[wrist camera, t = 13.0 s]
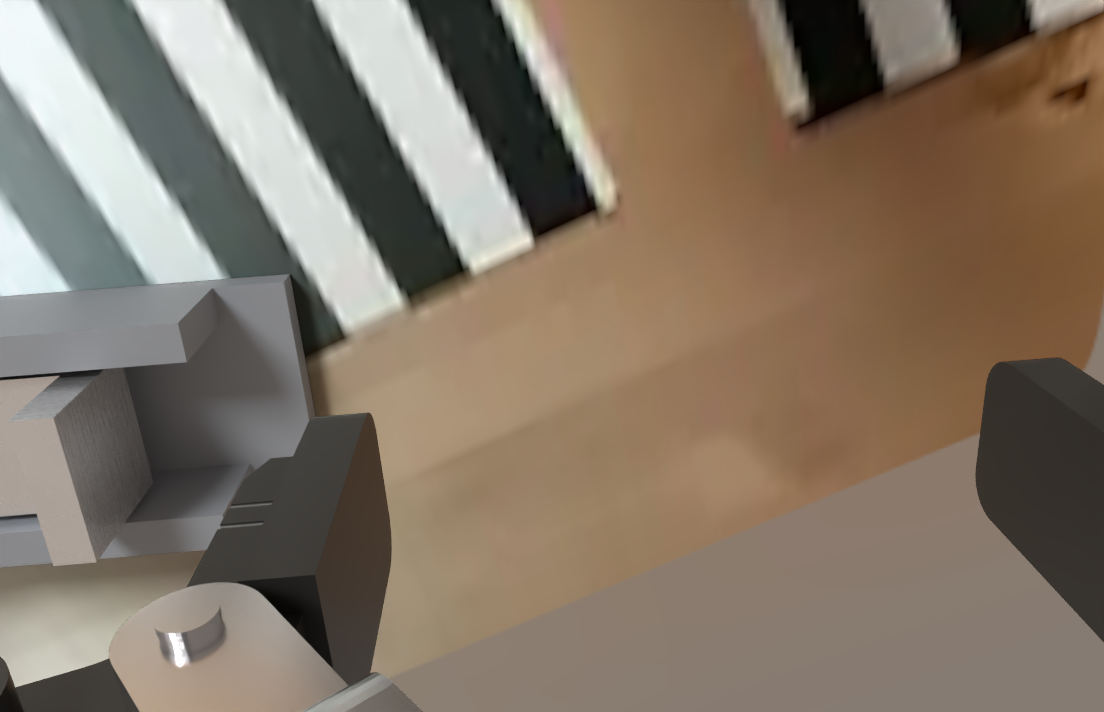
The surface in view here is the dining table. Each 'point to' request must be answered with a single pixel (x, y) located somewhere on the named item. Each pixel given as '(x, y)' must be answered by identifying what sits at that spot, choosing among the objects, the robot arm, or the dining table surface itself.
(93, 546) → the notched taupe block
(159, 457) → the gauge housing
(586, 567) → the dining table surface
